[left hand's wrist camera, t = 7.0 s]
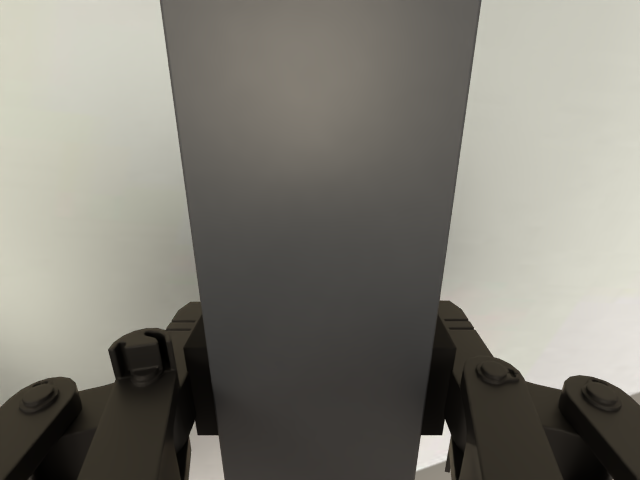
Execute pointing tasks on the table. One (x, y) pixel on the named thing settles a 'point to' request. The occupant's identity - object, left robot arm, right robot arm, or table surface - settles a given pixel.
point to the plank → (320, 219)
